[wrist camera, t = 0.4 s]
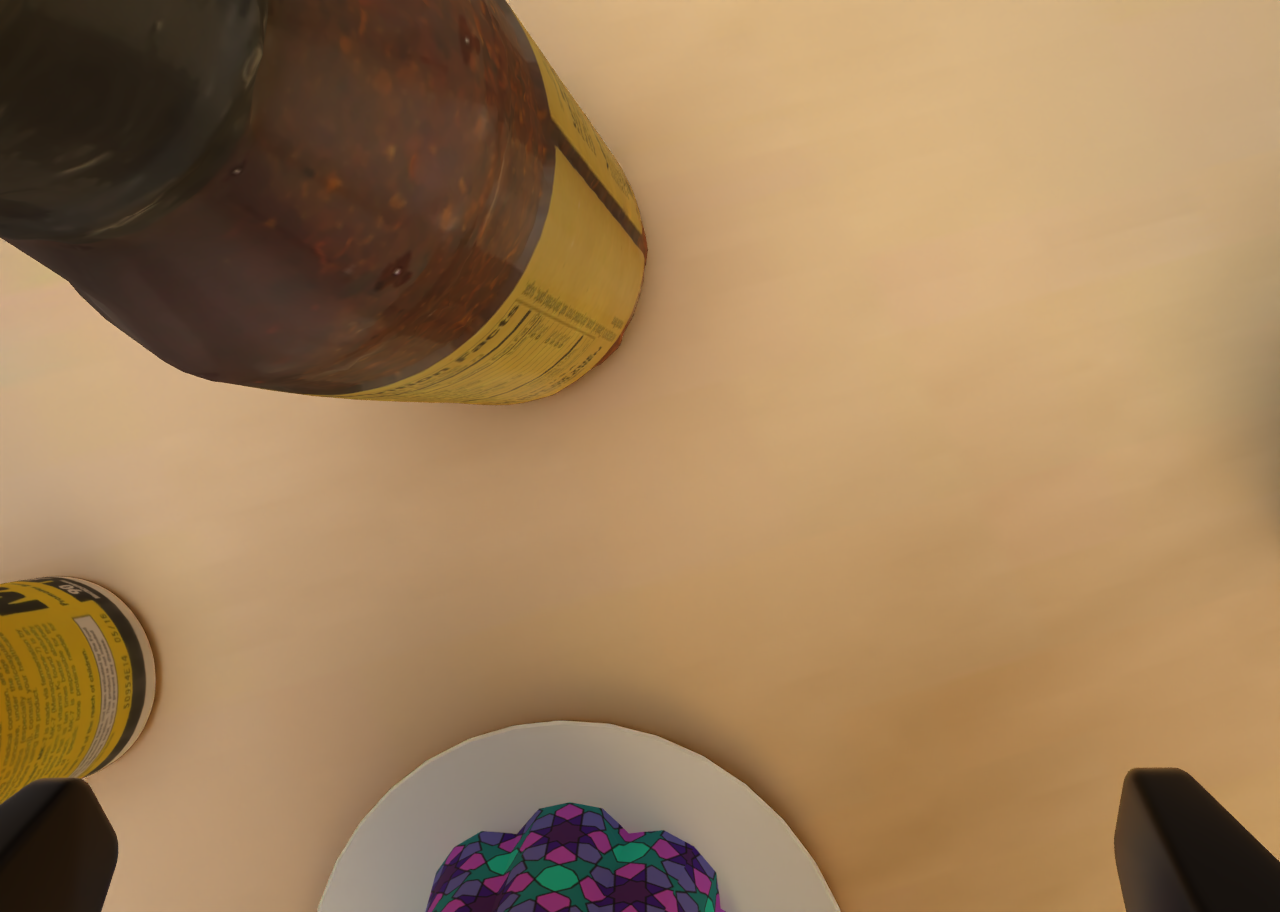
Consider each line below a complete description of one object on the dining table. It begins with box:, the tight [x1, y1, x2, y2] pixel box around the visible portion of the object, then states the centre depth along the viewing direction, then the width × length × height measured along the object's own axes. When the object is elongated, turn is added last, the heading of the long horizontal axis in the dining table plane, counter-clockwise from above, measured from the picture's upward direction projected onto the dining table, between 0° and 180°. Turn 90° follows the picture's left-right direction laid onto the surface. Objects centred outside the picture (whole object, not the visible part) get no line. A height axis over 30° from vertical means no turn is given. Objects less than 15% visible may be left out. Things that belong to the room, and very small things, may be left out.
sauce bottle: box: [0, 0, 648, 405], centre depth 15 cm, size 7×6×20 cm
